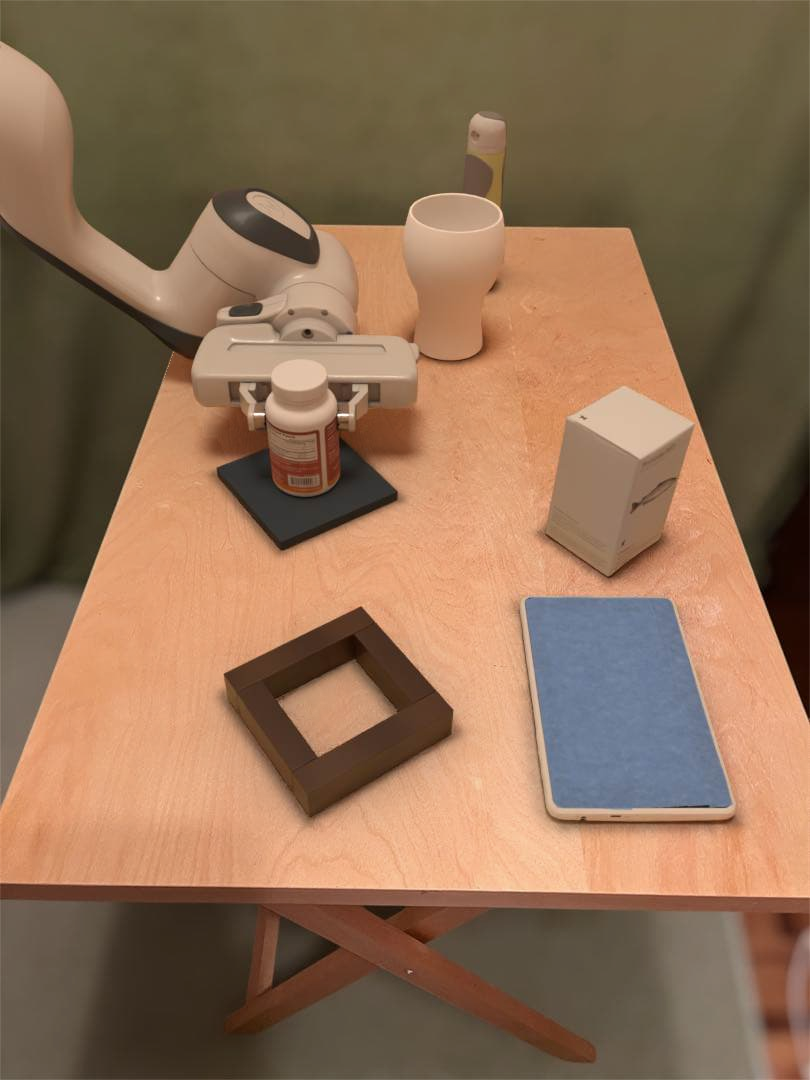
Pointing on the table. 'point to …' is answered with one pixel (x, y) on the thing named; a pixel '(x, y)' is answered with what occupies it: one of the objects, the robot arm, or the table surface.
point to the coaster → (305, 515)
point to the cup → (452, 269)
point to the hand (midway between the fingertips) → (301, 424)
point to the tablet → (620, 712)
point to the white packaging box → (616, 477)
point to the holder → (363, 754)
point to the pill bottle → (302, 429)
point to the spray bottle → (486, 157)
